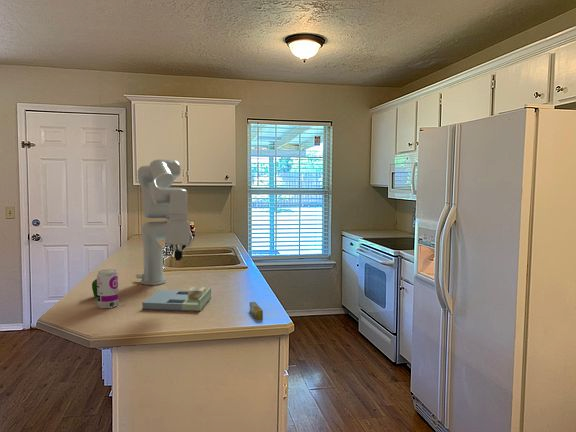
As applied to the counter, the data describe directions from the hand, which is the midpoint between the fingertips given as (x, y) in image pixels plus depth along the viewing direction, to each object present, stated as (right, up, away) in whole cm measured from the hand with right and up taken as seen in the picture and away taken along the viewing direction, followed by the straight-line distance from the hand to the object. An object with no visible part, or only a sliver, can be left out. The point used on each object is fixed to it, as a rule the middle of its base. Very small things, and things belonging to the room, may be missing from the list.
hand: (178, 259), depth 188 cm
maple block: (+8, -16, -1) cm, 18 cm away
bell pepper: (-37, -18, +9) cm, 42 cm away
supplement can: (-29, -19, -5) cm, 35 cm away
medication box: (+34, -22, -12) cm, 42 cm away
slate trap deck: (0, -19, +1) cm, 19 cm away
